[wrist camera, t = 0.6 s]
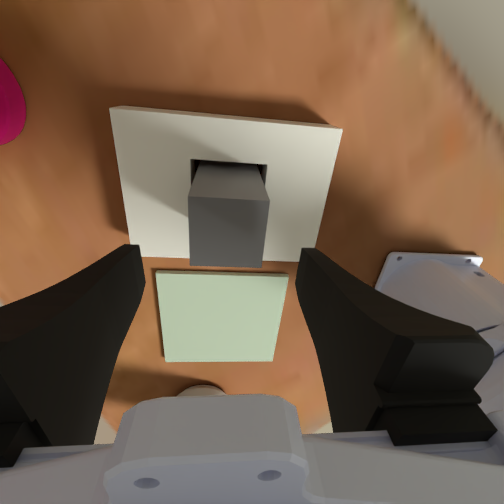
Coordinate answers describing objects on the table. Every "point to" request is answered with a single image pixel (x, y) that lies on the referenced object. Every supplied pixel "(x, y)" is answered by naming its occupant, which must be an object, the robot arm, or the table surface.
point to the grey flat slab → (220, 149)
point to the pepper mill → (10, 105)
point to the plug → (227, 215)
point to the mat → (220, 315)
